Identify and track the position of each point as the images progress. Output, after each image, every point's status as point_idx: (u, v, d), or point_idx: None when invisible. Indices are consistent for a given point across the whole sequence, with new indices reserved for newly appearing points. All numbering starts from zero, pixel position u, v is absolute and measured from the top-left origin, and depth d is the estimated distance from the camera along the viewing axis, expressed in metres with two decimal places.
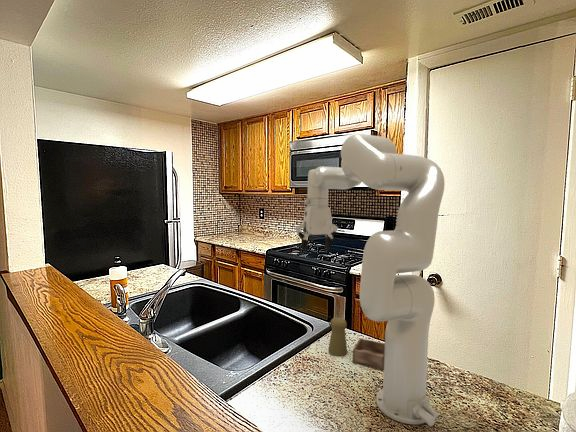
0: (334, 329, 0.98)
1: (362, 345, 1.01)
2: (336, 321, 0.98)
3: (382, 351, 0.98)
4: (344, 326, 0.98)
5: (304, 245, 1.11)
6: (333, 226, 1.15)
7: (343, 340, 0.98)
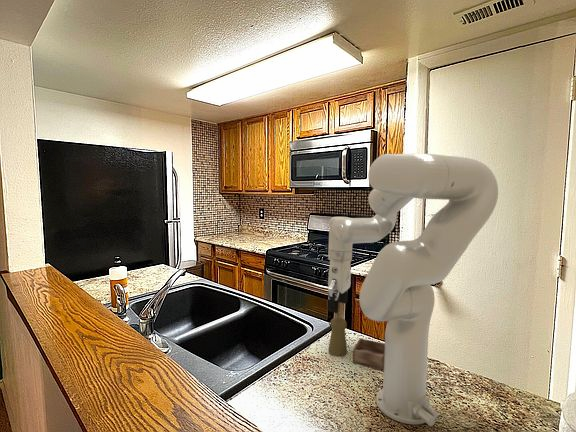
0: (334, 329, 0.98)
1: (362, 345, 1.01)
2: (336, 321, 0.98)
3: (382, 351, 0.98)
4: (344, 326, 0.98)
5: (335, 307, 0.95)
6: None
7: (343, 340, 0.98)
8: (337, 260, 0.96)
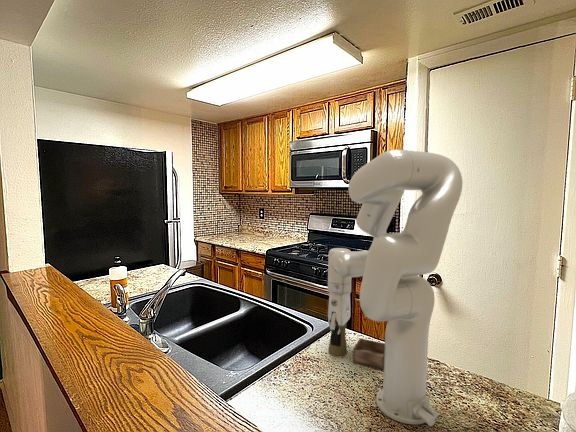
0: None
1: (362, 345, 1.01)
2: None
3: (382, 351, 0.98)
4: (344, 326, 0.98)
5: (337, 340, 0.97)
6: None
7: (343, 340, 0.98)
8: (336, 293, 0.96)
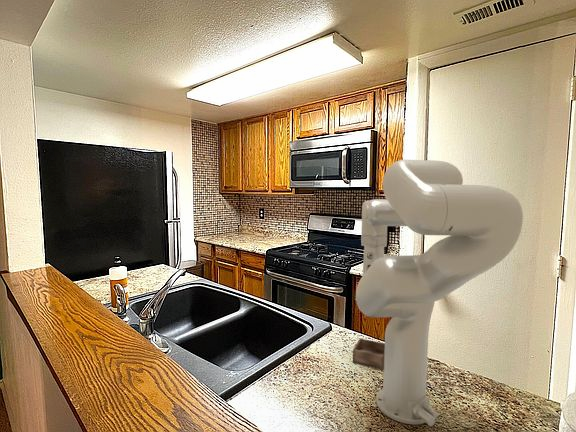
0: None
1: (362, 345, 1.01)
2: None
3: (382, 351, 0.98)
4: None
5: None
6: None
7: None
8: (372, 245, 0.91)
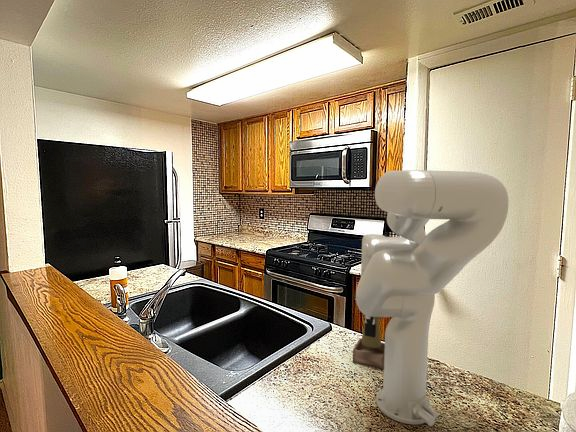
0: None
1: (362, 345, 1.01)
2: None
3: (382, 351, 0.98)
4: None
5: (372, 331, 0.92)
6: None
7: (378, 331, 0.94)
8: None
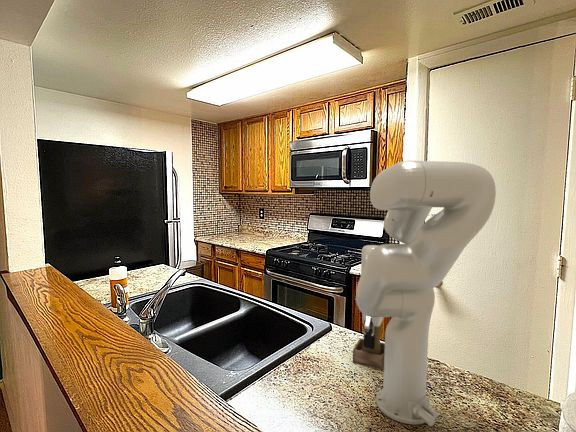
0: None
1: (362, 345, 1.01)
2: None
3: (382, 351, 0.98)
4: (379, 330, 0.94)
5: (371, 342, 0.91)
6: None
7: (378, 344, 0.94)
8: None
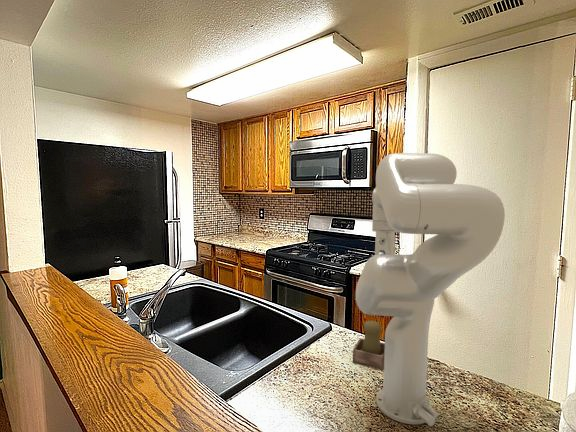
0: (368, 333, 0.94)
1: (362, 345, 1.01)
2: (370, 325, 0.94)
3: (382, 351, 0.98)
4: (379, 330, 0.93)
5: None
6: None
7: (378, 345, 0.94)
8: (384, 231, 0.91)
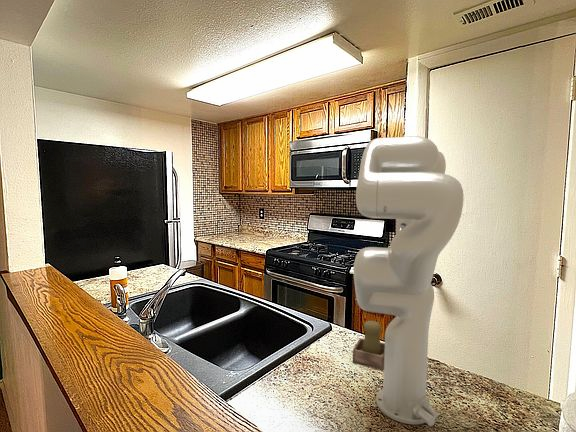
0: (368, 333, 0.94)
1: (362, 345, 1.01)
2: (370, 325, 0.94)
3: (382, 351, 0.98)
4: (379, 330, 0.93)
5: None
6: None
7: (378, 345, 0.94)
8: None
